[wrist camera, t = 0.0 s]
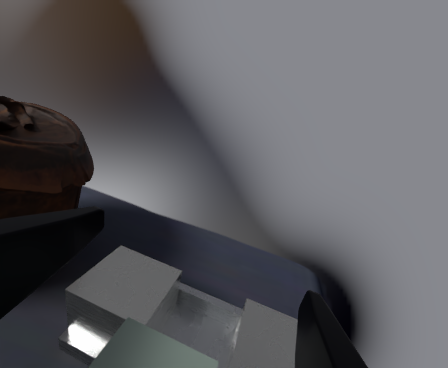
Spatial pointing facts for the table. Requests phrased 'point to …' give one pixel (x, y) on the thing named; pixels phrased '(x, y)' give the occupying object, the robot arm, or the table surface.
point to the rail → (171, 315)
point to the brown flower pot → (40, 160)
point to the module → (148, 350)
